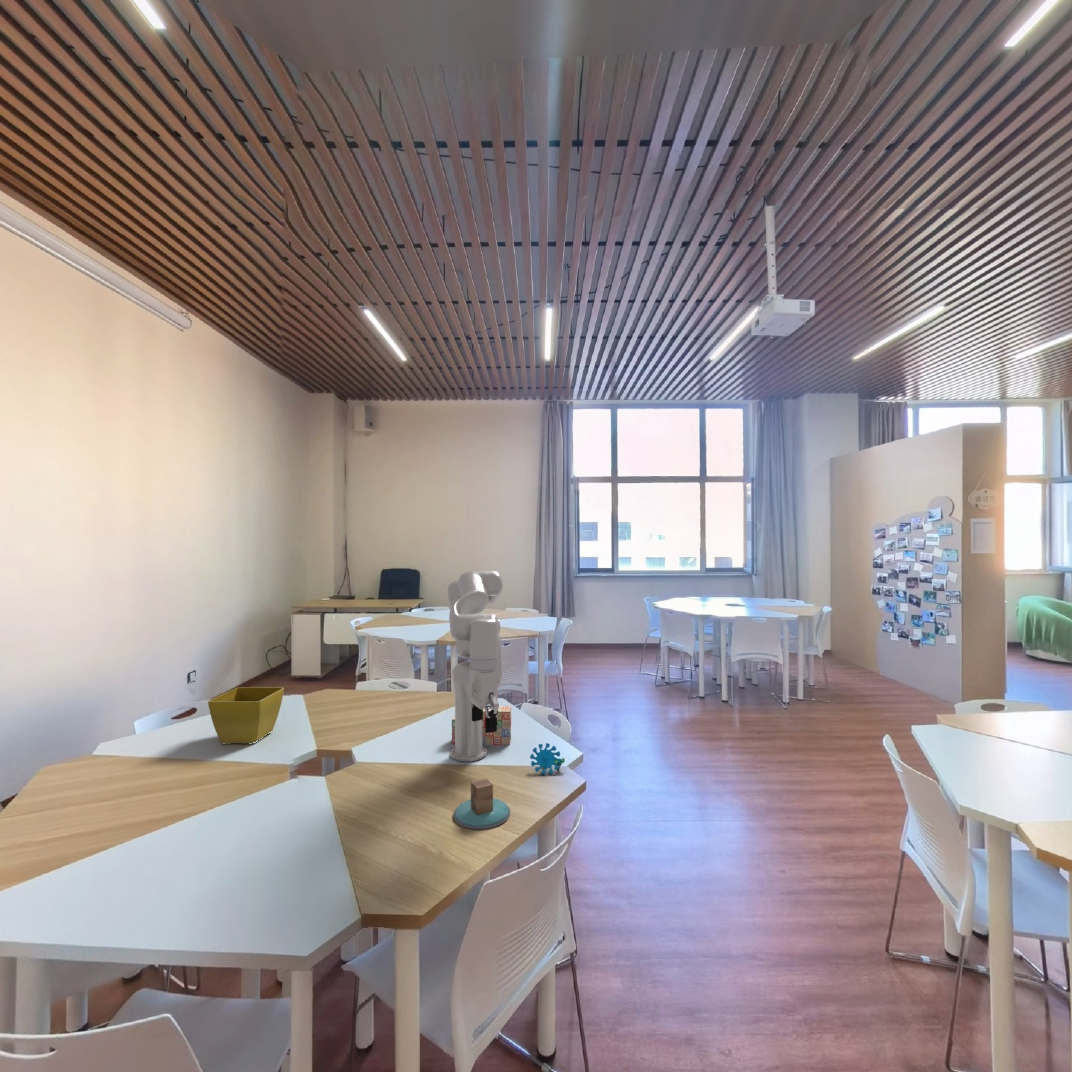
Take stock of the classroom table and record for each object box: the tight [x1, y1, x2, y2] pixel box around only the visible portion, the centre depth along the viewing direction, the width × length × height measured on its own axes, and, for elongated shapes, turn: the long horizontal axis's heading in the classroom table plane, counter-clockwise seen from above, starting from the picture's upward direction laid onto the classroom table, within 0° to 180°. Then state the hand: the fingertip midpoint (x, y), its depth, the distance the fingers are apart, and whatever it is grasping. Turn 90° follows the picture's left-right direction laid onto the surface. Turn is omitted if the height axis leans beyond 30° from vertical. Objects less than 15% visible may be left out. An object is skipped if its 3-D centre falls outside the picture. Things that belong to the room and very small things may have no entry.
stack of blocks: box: [451, 705, 512, 746], centre depth 192 cm, size 21×6×12 cm, turn 89°
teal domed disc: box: [453, 797, 511, 831], centre depth 139 cm, size 15×15×1 cm
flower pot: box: [207, 686, 285, 744], centre depth 197 cm, size 19×19×17 cm
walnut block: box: [470, 777, 494, 815], centre depth 139 cm, size 4×4×7 cm
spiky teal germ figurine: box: [529, 742, 566, 776], centre depth 168 cm, size 11×6×10 cm
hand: (484, 726), depth 143 cm, fingers open, 9 cm apart
